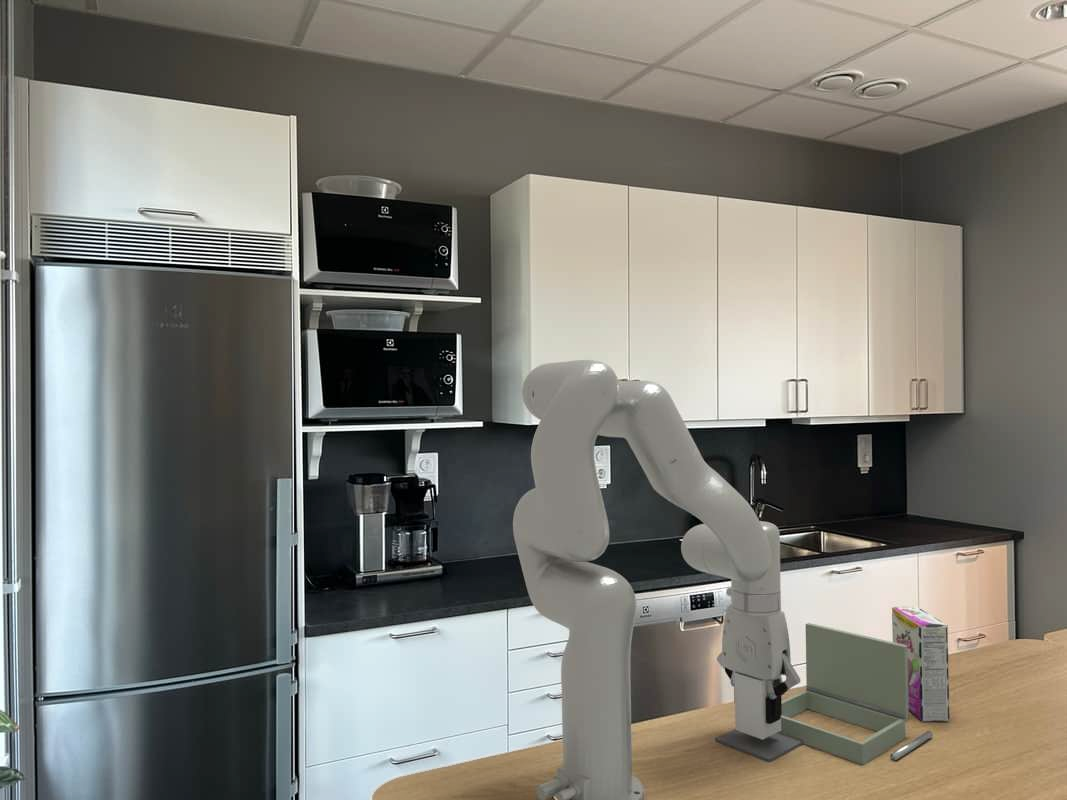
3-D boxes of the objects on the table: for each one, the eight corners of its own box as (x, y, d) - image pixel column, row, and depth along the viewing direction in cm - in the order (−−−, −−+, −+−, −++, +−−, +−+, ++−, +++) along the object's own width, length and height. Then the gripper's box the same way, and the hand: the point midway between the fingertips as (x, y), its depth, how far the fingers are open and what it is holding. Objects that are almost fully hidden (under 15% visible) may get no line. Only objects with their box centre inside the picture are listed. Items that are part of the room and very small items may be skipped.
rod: (896, 761, 119) (896, 754, 119) (890, 759, 119) (890, 752, 119) (932, 738, 126) (932, 731, 126) (926, 736, 127) (926, 729, 127)
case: (862, 764, 118) (861, 666, 118) (761, 728, 131) (760, 640, 131) (909, 735, 127) (908, 645, 127) (810, 704, 141) (809, 622, 141)
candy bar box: (891, 697, 143) (890, 606, 143) (919, 697, 143) (918, 605, 143) (920, 723, 132) (919, 624, 132) (951, 722, 132) (949, 623, 132)
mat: (769, 762, 119) (769, 759, 119) (714, 740, 127) (714, 738, 127) (802, 744, 125) (802, 741, 125) (748, 724, 133) (748, 722, 133)
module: (762, 739, 123) (761, 673, 122) (735, 729, 126) (734, 665, 126) (781, 730, 126) (780, 665, 126) (754, 720, 130) (753, 658, 130)
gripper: (697, 595, 130) (699, 706, 130) (790, 616, 117) (792, 740, 117) (725, 587, 135) (727, 695, 135) (818, 606, 122) (819, 725, 122)
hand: (757, 714), depth 126 cm, fingers closed on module, 4 cm apart
